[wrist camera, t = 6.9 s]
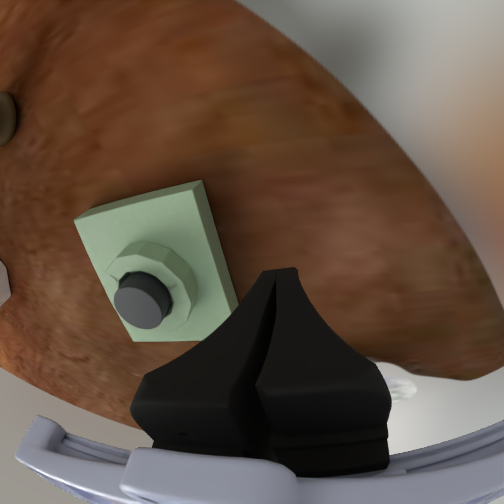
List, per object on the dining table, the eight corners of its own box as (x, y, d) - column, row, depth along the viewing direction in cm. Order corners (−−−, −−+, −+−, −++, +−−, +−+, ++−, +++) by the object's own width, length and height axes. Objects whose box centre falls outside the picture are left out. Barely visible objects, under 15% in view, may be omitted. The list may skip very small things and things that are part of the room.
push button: (178, 312, 20) (170, 329, 19) (136, 314, 21) (127, 330, 20) (159, 268, 19) (149, 284, 17) (116, 274, 19) (104, 288, 18)
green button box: (244, 320, 25) (236, 355, 21) (142, 325, 27) (125, 355, 23) (202, 179, 19) (182, 199, 16) (88, 209, 21) (59, 230, 18)
